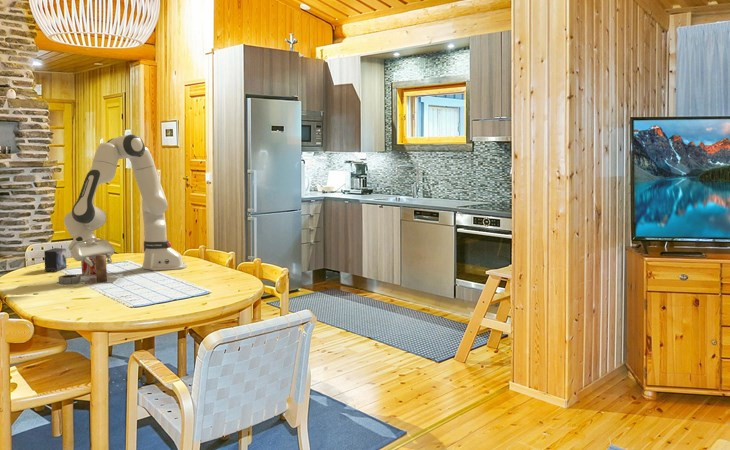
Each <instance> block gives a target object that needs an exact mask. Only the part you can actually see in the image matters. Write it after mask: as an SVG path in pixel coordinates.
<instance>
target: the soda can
mask: <svg viewBox="0 0 730 450" xmlns="http://www.w3.org/2000/svg"><path fill="white" fill-rule="evenodd" d="M89 260H91V261H94V263H95V265H94V266H92V267H91V266H90V265H89V264H88V263H86V262H85V261H84V260H83V261H80V262H81V263H80V266H81V275H83V276H93V275H96V258H94V259H89Z"/></svg>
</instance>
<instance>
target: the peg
mask: <svg viewBox="0 0 730 450" xmlns="http://www.w3.org/2000/svg"><path fill="white" fill-rule="evenodd" d="M107 273H108V272H107V258H106V255H96V274H95V276H96V277H95V278H97V282H106V281H107V278H108V276H107V275H108V274H107Z"/></svg>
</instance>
